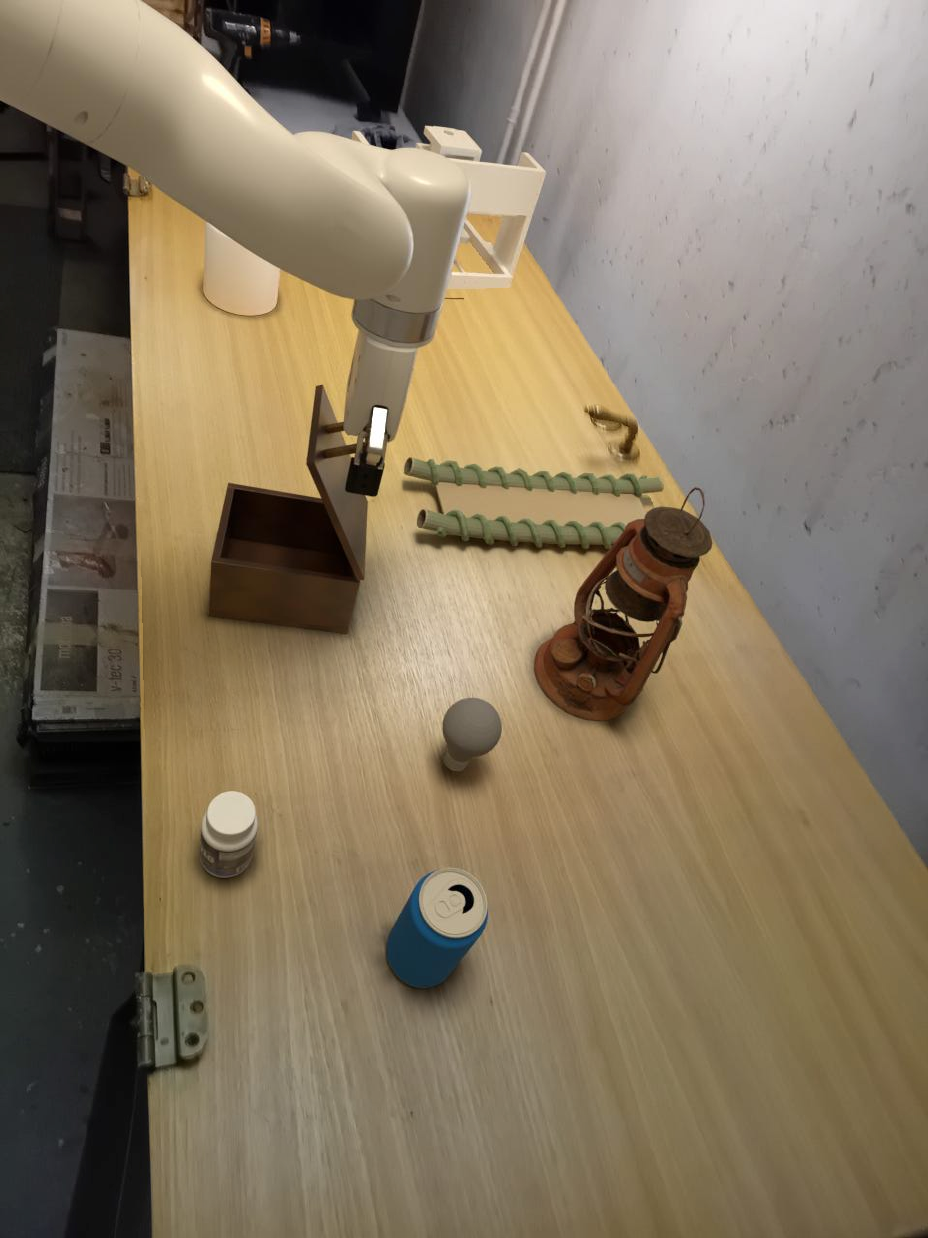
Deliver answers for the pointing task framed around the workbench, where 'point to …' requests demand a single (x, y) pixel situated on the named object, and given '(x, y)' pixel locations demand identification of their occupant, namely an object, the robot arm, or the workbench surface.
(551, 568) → the workbench surface
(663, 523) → the lantern
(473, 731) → the light bulb
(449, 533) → the stretcher
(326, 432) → the lid
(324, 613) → the chest
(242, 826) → the pill bottle
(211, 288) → the cup
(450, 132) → the 3d printer
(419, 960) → the beverage can
